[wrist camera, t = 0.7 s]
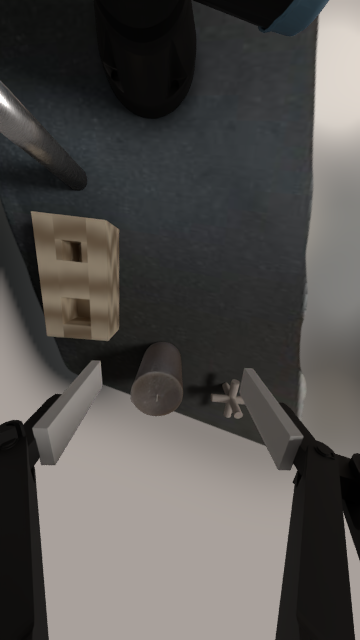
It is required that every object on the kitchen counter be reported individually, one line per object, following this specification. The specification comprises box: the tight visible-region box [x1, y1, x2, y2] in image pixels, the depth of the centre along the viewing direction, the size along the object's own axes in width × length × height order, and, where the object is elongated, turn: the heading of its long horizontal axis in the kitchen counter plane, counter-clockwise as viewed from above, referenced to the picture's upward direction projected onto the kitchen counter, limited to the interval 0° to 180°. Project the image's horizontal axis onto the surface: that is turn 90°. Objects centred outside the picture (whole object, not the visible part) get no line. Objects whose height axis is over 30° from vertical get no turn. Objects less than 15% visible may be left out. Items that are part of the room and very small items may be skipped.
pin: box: [0, 80, 87, 191], centre depth 24 cm, size 4×4×18 cm
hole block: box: [31, 211, 119, 341], centre depth 35 cm, size 22×12×7 cm, turn 174°
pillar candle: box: [131, 342, 183, 416], centre depth 37 cm, size 10×10×15 cm
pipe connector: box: [211, 379, 245, 419], centre depth 42 cm, size 10×10×10 cm
